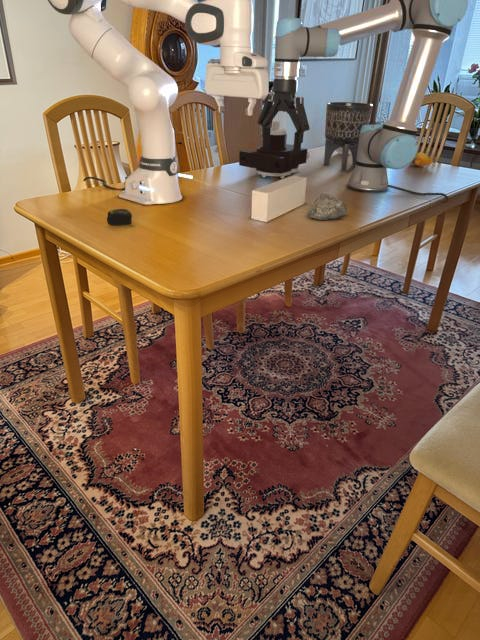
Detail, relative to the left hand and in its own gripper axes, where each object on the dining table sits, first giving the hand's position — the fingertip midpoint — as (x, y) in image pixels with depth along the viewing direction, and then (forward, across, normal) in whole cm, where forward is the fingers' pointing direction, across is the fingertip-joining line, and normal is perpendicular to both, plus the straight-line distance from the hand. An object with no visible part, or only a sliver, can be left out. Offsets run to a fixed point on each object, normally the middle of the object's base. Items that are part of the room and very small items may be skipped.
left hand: (235, 114), depth 132 cm
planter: (+29, -1, +88) cm, 93 cm away
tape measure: (+29, -18, -32) cm, 47 cm away
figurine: (+29, -14, +121) cm, 125 cm away
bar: (+29, +11, +10) cm, 33 cm away
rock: (+29, +27, +14) cm, 42 cm away
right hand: (+12, +5, +20) cm, 24 cm away
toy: (+29, +26, +116) cm, 123 cm away
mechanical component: (+29, -16, +58) cm, 67 cm away
